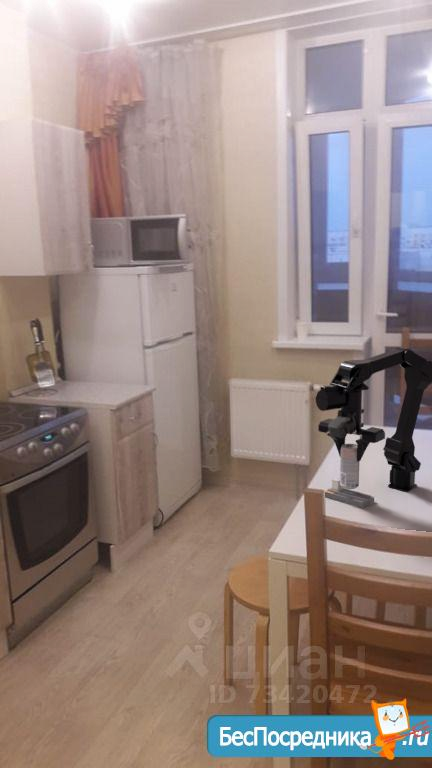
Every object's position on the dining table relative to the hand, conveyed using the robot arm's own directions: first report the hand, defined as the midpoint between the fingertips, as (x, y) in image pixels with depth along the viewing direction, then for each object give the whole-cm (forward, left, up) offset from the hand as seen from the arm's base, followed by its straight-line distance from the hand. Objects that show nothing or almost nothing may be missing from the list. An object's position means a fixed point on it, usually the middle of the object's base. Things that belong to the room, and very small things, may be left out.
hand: (350, 459), depth 175 cm
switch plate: (0, 0, -12) cm, 12 cm away
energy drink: (0, 0, -8) cm, 8 cm away
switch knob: (+4, 0, -11) cm, 11 cm away
